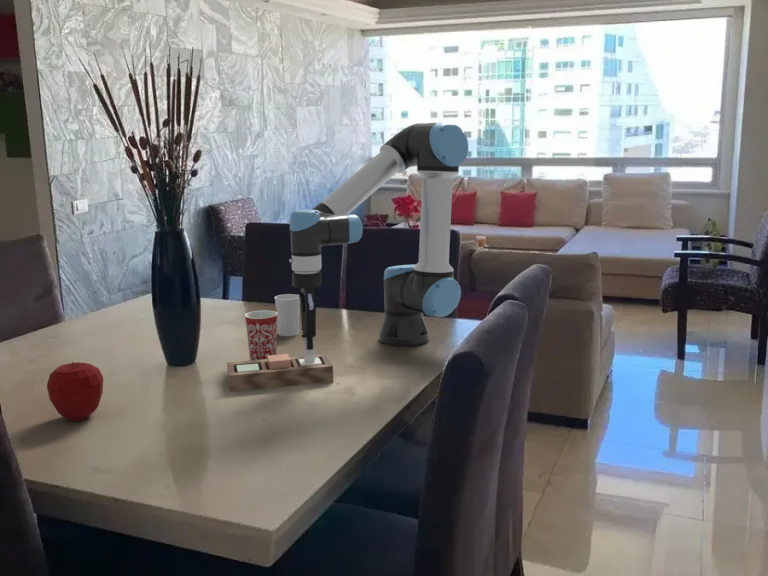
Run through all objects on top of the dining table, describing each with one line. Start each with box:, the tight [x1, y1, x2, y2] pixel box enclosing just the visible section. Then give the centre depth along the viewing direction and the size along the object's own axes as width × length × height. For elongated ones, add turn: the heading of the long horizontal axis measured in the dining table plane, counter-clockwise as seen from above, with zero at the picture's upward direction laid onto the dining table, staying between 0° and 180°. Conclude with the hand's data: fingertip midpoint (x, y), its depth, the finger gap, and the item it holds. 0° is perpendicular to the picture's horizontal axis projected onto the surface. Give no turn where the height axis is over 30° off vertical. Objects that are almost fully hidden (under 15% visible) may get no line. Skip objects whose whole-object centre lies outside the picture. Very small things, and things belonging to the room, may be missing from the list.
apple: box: [46, 361, 104, 422], centre depth 168 cm, size 12×12×13 cm
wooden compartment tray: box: [226, 353, 334, 393], centre depth 192 cm, size 26×11×4 cm, turn 104°
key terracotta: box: [267, 353, 291, 369], centre depth 192 cm, size 5×5×4 cm
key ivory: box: [298, 357, 322, 367], centre depth 194 cm, size 5×5×4 cm
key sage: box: [237, 364, 259, 372], centre depth 190 cm, size 5×5×4 cm
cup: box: [274, 293, 301, 337], centre depth 236 cm, size 8×8×12 cm
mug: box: [244, 310, 278, 361], centre depth 210 cm, size 13×9×14 cm
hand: (309, 360), depth 194 cm, fingers closed
